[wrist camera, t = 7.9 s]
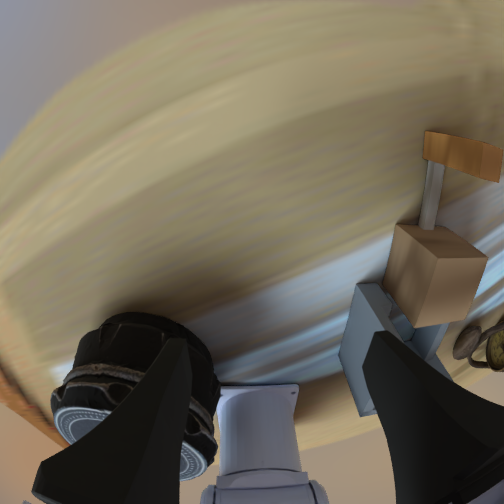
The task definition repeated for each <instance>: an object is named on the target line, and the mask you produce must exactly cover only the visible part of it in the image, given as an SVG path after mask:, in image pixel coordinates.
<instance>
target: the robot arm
mask: <svg viewBox="0 0 504 504" xmlns="http://www.w3.org/2000/svg"><path fill="white" fill-rule="evenodd" d="M362 370H363V374H364V378H365V382H366V385H367V389H368V391H369V394H370V397H371V399H372V402H373V404H374V407H375V409H376V412H377V414H378V417H379V419H380V422H381V424H382V427H383V429H384V432H385V435H386V438H387V443H388V447H389V451H390V456H391V461H392V467H393V473H394V481H395V490H396V504H504V406H501V405H498V404H495V403H493V402H490V401H488V400H486V399H483V398H481V397H479V396H477V395H475V394H473V393H471V392H469V391H468V390H466V389H464V388H462V387H461V386H459V385H458V384H456V383H454V382H453V381H451V380H450V379H448V378H447V377H445V376H444V375H443V374H441V373H440V372H438V371H437V370H436V369H434V368H433V367H432V366H431V365H429V364H428V363H427V362H426V361H424V360H423V359H422V358H421V357H419V356H418V355H417V354H416V353H415V352H413V351H412V350H411V349H410V348H409V347H408V346H406V345H405V344H404V343H403V342H402V341H400V340H399V339H398V338H397V337H396V336H394V335H393V334H392V333H391V332H389V331H388V330H384V331H376V332H374V334H373V337H372V340H371V343H370V346H369V349H368V352H367V354H366V357H365V360H364V362H363V365H362ZM191 390H192V369H191V364H190V358H189V353H188V347H187V341H186V339H181V338H170V339H168V340H167V342H166V344H165V345H164V347H163V348H162V350H161V351H160V353H159V354H158V356H157V357H156V359H155V360H154V362H153V363H152V365H151V366H150V367H149V369H148V370H147V371H146V373H145V374H144V376H143V377H142V378H141V380H140V381H139V382H138V383H137V384H136V386H135V387H134V388H133V389H132V390H131V392H130V393H129V394H128V395H127V396H126V398H125V399H124V400H123V401H122V402H121V403H120V404H119V405H118V406H117V407H116V408H115V409H114V410H113V411H112V412H111V413H110V414H109V415H108V416H107V417H106V418H105V419H104V420H103V421H101V422H100V423H99V424H98V425H97V426H96V427H95V428H93V429H92V430H91V431H90V432H88V433H87V434H86V435H84V436H83V437H81V438H80V439H79V440H77V441H76V442H74V443H73V444H72V445H70V446H69V447H67V448H65V449H64V450H62V451H60V452H58V453H57V454H55V455H53V456H51V457H49V458H48V459H46V460H44V461H42V462H41V464H40V466H39V468H38V471H37V474H36V477H35V481H34V484H33V488H32V491H31V492H32V494H33V495H34V496H35V497H37V498H38V499H39V500H41V501H43V502H44V503H46V504H179V487H180V461H181V450H182V443H183V438H184V432H185V427H186V421H187V416H188V411H189V405H190V400H191ZM298 393H299V386H298V385H297V384H289V385H270V386H221V397H220V399H219V402H218V405H217V414H218V421H219V428H220V471H219V476H217V482H216V485H208V487H207V488H206V489H204V490H203V492H202V495H201V501H200V504H329V501H328V497H327V494H326V491H325V489H324V487H323V486H322V485H320V484H319V483H318V482H317V481H316V480H308V474H307V472H302V469H301V462H300V456H299V450H298V444H297V438H296V432H295V426H294V420H293V414H294V410H295V406H296V401H297V397H298ZM23 504H31V503H29V502H27V501H26V500H25V501H23Z"/></svg>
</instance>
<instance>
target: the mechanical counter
mask: <svg viewBox="0 0 504 504" xmlns="http://www.w3.org/2000/svg"><path fill="white" fill-rule="evenodd" d="M481 332H482V331H481V327H480V326H472V327H469V328H467V329H466V330H465V331H463V332H462V333H461V335H460V336H459V338H458V339H457V341H456V344H455V346H454V349H453V357H454V359H457V360H460V359H464V358H466V357H467V359H468V362H469V364H470V365H471V366H472V367H475V368H491V369H492V370H493V371H495V372H504V320H503V321H501V322H499V323H498V324H497V325H495V326H493V327H491V328H489V329H487V330H486V331H484V332H483V333H482V334H481ZM487 338H489V339H488V342H487V347H486V359H487V362H483V361H474V360H473V359H472V358H471V356H472V354H473V352H474V351H475V349H476V348H477V347H478V346H479V345H480V344H481V343H482V342H483V341H485V340H486V339H487Z"/></svg>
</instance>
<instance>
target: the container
mask: <svg viewBox="0 0 504 504" xmlns="http://www.w3.org/2000/svg"><path fill="white" fill-rule="evenodd" d="M170 338H181V339H186V341H187V347H188V353H189V358H190V364H191V369H192V390H191V400H190V405H189V411H188V416H187V421H186V427H185V432H184V438H183V443H182V450H181V461H180V481H185V480H190V479H193V478H195V477H198V476H200V475H202V474H203V473H204V472H205V471H206V469H207V467H209V466H210V465H211V464H212V463H213V462H214V456H215V455H216V453H217V449H218V445H217V442H216V440H215V439H214V424H213V416H214V414H215V411H216V408H217V405H218V402H219V399H220V397H221V383H220V382H219V381H218V379H217V376H216V375H215V374H214V369H213V363H212V360H211V356H210V353H209V351H208V349H207V348H206V346H205V345H204V344H203V343H202V341H201V340H200V339H199V338H197V337H196V336H195V335H194V334H193V333H192V332H191V331H189V330H188V329H187V328H185V327H184V326H182V325H180V324H178V323H176V322H174V321H172V320H170V319H168V318H165V317H161V316H157V315H152V314H147V313H140V312H126V313H122V314H118V315H115V316H112V317H111V318H109V319H107V320H106V321H105V322H104V323H103V324H102V325H101V326H100V327H99V329H96V330H93V331H91V332H88V333H87V334H86V335H84V336H83V338H82V339H81V340H80V342H79V345H78V349H77V353H76V355H75V361H74V364H73V368H72V370H71V371H70V372H69V373H68V374H67V376H66V377H65V379H64V380H63V382H64V383H63V385H62V386H60V387H58V388H56V389H55V390H54V391H53V393H52V394H51V409H52V413H53V416H54V423H55V426H56V427H57V429H58V431H59V432H60V434H61V435H62V436H63V437H64V439H65V440H66V441H68V442H69V443H70V444H71V445H72V444H73V443H74V442H76V441H77V440H79V439H80V438H81V437H83V436H84V435H86V434H87V433H88V432H90V431H91V430H92V429H93V428H95V427H96V426H97V425H98V424H99V423H100V422H101V421H103V420H104V419H105V418H106V417H107V416H108V415H109V414H110V413H111V412H112V411H113V410H114V409H115V408H116V407H117V406H118V405H119V404H120V403H121V402H122V401H123V400H124V399H125V398H126V396H127V395H128V394H129V393H130V392H131V390H132V389H133V388H134V387H135V386H136V384H137V383H138V382H139V381H140V380H141V378H142V377H143V376H144V374H145V373H146V371H147V370H148V369H149V367H150V366H151V365H152V363H153V362H154V360H155V359H156V357H157V356H158V354H159V353H160V351H161V350H162V348H163V347H164V345H165V344H166V342H167V340H168V339H170Z"/></svg>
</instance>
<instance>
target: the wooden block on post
mask: <svg viewBox="0 0 504 504" xmlns="http://www.w3.org/2000/svg"><path fill="white" fill-rule="evenodd" d="M502 156H503V149H500V148H498V147H495V146H492V145H490V144H487V143H484V142H480V141H476V140H472V139H467V138H462V137H457V136H452V135H447V134H441V133H435V132H429V131H425V138H424V149H423V159H426V160H428V169H427V176H426V183H425V190H424V196H423V202H422V207H421V213H420V218H419V223H418V225H402V224H396V226H395V231H394V236H393V241H392V246H391V251H390V255H389V259H388V264H387V268H386V272H385V276H384V280H383V284H382V285H383V286H384V287H385V289H386V290H387V291H388V293H389V294H390V295H391V297H392V298H393V299H394V301H395V302H396V303H397V305H398V306H399V308H400V309H401V310H402V312H403V313H404V315H405V316H406V317H407V319H408V320H409V322H410V323H411V324H412V326H413V327H414V328H419V327H426V326H432V325H438V324H443V323H449V322H454V321H459V320H464V319H465V318H466V316H467V313H468V311H469V309H470V306H471V304H472V302H473V299H474V297H475V294H476V291H477V289H478V286H479V284H480V281H481V278H482V275H483V272H484V270H485V267H486V264H487V260H488V257H487V256H486V255H485V254H483V253H482V252H481V251H479V250H478V249H476V248H475V247H474V246H472V245H471V244H469V243H468V242H467V241H465V240H464V239H462V238H461V237H460V236H458V235H457V234H455V233H454V232H452V231H451V230H449V229H448V228H446V227H441V226H434V225H435V220H436V216H437V211H438V205H439V200H440V194H441V188H442V182H443V175H444V168H445V166H448V167H451V168H454V169H457V170H460V171H462V172H465V173H468V174H470V175H473V176H476V177H478V178H482V179H486V180H490V181H494V182H497V183H499V179H500V172H501V165H502Z"/></svg>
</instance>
